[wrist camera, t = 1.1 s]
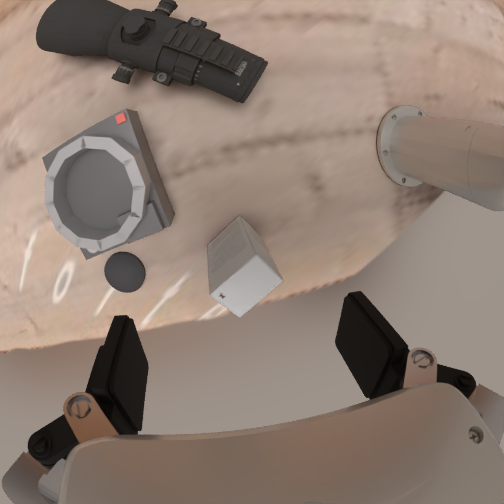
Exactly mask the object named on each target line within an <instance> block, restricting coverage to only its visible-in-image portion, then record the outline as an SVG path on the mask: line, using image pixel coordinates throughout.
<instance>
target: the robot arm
mask: <svg viewBox="0 0 504 504" xmlns="http://www.w3.org/2000/svg"><path fill="white" fill-rule="evenodd" d="M377 150H378V156H379V159H380V163H381V165H382V167H383V169H384V171H385V172H386V174H387V175H388V176H389V177H390V178H391V179H392V180H393V181H394V182H396V183H397V184H400V185H402V186H406V187H415V186H418V185H421V184H422V183H427V184H429V185H432V186H435V187H437V188H440V189H443V190H445V191H448V192H450V193H453V194H455V195H457V196H460V197H462V198H465V199H467V200H469V201H472V202H474V203H476V204H478V205H480V206H483V207H485V208H487V209H490V210H493V211H504V126H499V125H493V124H487V123H480V122H473V121H466V120H458V119H449V118H438V117H428V116H427V115H426V114H425V113H424V112H423V111H422V110H420V109H418V108H417V107H413V106H398V107H396V108H393V109H392V110H391V111H389V112H388V113H387V114H386V116H385V117H384V118H383V120H382V122H381V124H380V127H379V130H378V136H377ZM335 343H336V347H337V349H338V350H339V352H340V354H341V355H342V357H343V359H344V361H345V362H346V364H347V366H348V367H349V369H350V371H351V373H352V374H353V376H354V378H355V380H356V381H357V383H358V385H359V386H360V389H361V390H362V392H363V394H364V396H365V397H366V398H369V399H370V400H368V401H366V402H362V403H359V404H356V405H353V406H350V407H347V408H343V409H340V410H336V411H333V412H329V413H325V414H321V415H317V416H313V417H309V418H305V419H301V420H296V421H292V422H287V423H281V424H275V425H270V426H264V427H257V428H250V429H243V430H235V431H225V432H215V433H201V434H176V435H138V431H141V430H142V421H143V410H144V401H145V392H146V384H147V376H148V361H147V359H146V356H145V353H144V350H143V347H142V345H141V342H140V339H139V336H138V333H137V330H136V327H135V324H134V321H133V319H132V318H129V317H128V316H127V315H119V316H114V319H113V321H112V324H111V327H110V329H109V332H108V335H107V338H106V341H105V344H104V345H103V346H100V348H99V350H98V353H97V356H96V359H95V362H94V365H93V368H92V371H91V375H90V378H89V381H88V385H87V388H86V391H85V392H78V393H75V394H72V395H71V396H69V397H68V398H67V400H66V401H65V403H64V407H63V411H64V415H62V416H61V417H59V418H57V419H56V420H54V421H53V422H51V423H49V424H48V425H46V426H45V427H43V428H41V429H40V430H38V431H37V432H35V433H34V434H32V435H31V437H30V439H29V441H28V450H29V451H28V452H27V453H25V452H23V453H22V454H21V455H20V457H19V458H18V459H17V460H16V461H15V463H14V464H13V465H12V466H11V467H10V469H9V470H8V471H7V472H6V474H5V475H4V476H3V479H2V487H3V490H4V492H5V493H6V495H7V496H8V497H9V498H10V500H11V501H12V502H13V503H14V504H504V453H503V451H502V449H501V447H500V445H499V444H500V441H501V438H502V435H503V432H504V397H503V396H501V395H499V394H497V393H495V392H493V391H492V390H490V389H488V388H486V387H484V386H482V385H481V384H479V385H478V386H476V381H475V380H474V378H473V376H472V375H470V374H469V373H468V372H465V371H462V370H458V369H454V368H451V367H447V366H443V365H439V364H437V359H436V357H435V355H434V354H433V353H432V352H431V351H429V350H428V349H425V348H414V349H412V350H411V351H410V350H409V349H408V345H407V344H406V343H405V341H404V340H403V339H402V338H401V337H400V335H399V334H398V333H397V332H396V331H395V330H394V328H393V327H392V326H391V325H390V324H389V322H388V321H387V320H386V319H385V318H384V317H383V315H382V314H381V313H380V312H379V311H378V310H377V309H376V307H375V306H374V305H373V304H372V303H371V302H370V301H369V299H368V298H367V297H366V296H365V295H364V294H363V293H362V292H361V291H357V292H351V293H348V295H347V296H346V297H345V298H344V303H343V308H342V312H341V317H340V322H339V326H338V331H337V335H336V339H335Z"/></svg>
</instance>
